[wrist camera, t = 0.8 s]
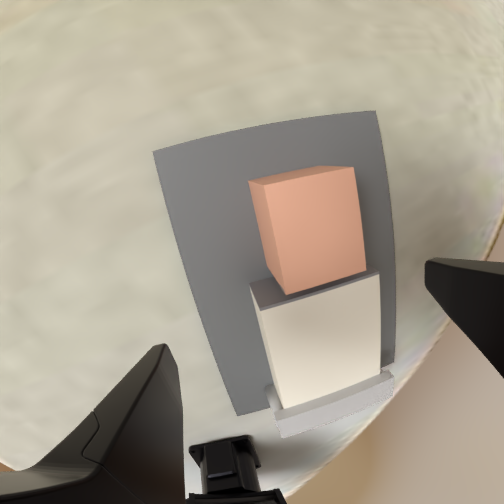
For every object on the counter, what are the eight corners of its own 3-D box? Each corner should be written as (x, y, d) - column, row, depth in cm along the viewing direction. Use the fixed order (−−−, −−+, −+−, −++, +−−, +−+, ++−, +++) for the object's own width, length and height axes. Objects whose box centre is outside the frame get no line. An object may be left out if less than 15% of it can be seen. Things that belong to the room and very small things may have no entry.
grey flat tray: (390, 358, 27) (420, 391, 22) (236, 411, 26) (245, 457, 20) (371, 111, 20) (416, 101, 15) (153, 151, 18) (136, 146, 13)
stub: (332, 248, 22) (366, 270, 17) (266, 266, 21) (286, 295, 17) (319, 165, 20) (353, 167, 15) (247, 180, 19) (263, 185, 15)
